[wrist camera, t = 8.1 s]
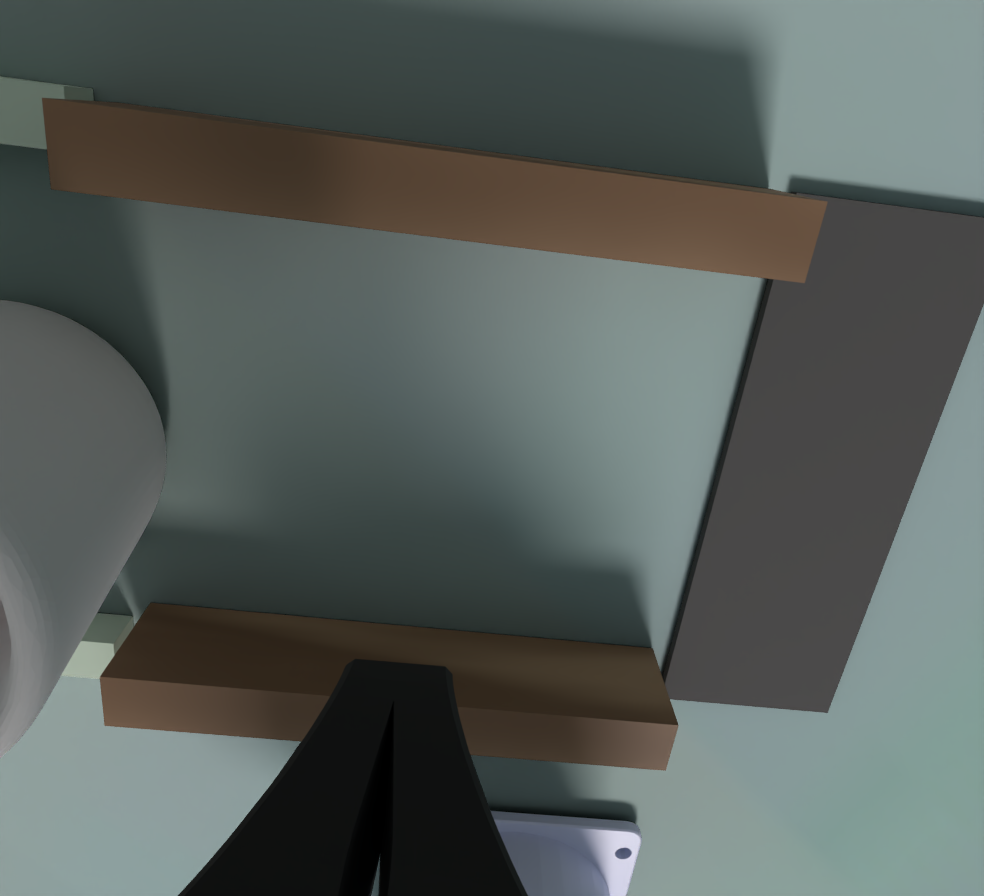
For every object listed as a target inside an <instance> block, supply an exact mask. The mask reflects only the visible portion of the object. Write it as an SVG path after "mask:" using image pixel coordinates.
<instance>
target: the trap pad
mask: <svg viewBox="0 0 984 896" xmlns="http://www.w3.org/2000/svg"><path fill="white" fill-rule="evenodd" d="M791 194H795V195H800V196H804V197H809V198H814V199H818V200H823V201H827V202H828V203H827V206H826V210H825V213H824V217H823V220H822V224H821V227H820V231H819V234H818V238H817V241H816V245H815V248H814V252H813V256H812V259H811V263H810V266H809V270H808V273H807V277H806V280H805V283H799V282H791V281H783V280H775V279H768V282H767V286H766V290H765V293H764V297H763V301H762V305H761V308H760V312H759V316H758V320H757V323H756V327H755V331H754V335H753V339H752V342H751V346H750V350H749V354H748V357H747V361H746V365H745V369H744V372H743V376H742V380H741V384H740V387H739V391H738V395H737V399H736V402H735V406H734V410H733V414H732V418H731V421H730V425H729V429H728V433H727V436H726V440H725V444H724V448H723V451H722V455H721V459H720V463H719V466H718V470H717V474H716V478H715V481H714V485H713V489H712V493H711V497H710V500H709V504H708V508H707V512H706V515H705V519H704V523H703V527H702V530H701V534H700V538H699V542H698V545H697V549H696V553H695V557H694V560H693V564H692V568H691V572H690V576H689V579H688V583H687V587H686V591H685V594H684V598H683V602H682V606H681V609H680V613H679V617H678V621H677V624H676V628H675V632H674V636H673V639H672V643H671V647H670V651H669V655H668V658H667V662H666V666H665V670H664V673H663V677H662V678H663V681H664V684H665V687H666V690H667V693H668V696H669V699H674V700H686V701H697V702H709V703H721V704H732V705H744V706H755V707H767V708H778V709H790V710H802V711H813V712H825V713H828V710H829V707H830V705H831V702H832V700H833V697H834V694H835V692H836V689H837V687H838V684H839V681H840V679H841V676H842V673H843V671H844V668H845V666H846V663H847V660H848V658H849V655H850V652H851V650H852V647H853V645H854V642H855V639H856V637H857V634H858V632H859V629H860V626H861V624H862V621H863V618H864V616H865V613H866V611H867V608H868V605H869V603H870V600H871V597H872V595H873V592H874V590H875V587H876V584H877V582H878V579H879V577H880V574H881V571H882V569H883V566H884V563H885V561H886V558H887V556H888V553H889V550H890V548H891V545H892V543H893V540H894V537H895V535H896V532H897V529H898V527H899V524H900V522H901V519H902V516H903V514H904V511H905V508H906V506H907V503H908V501H909V498H910V495H911V493H912V490H913V488H914V485H915V482H916V480H917V477H918V474H919V472H920V469H921V467H922V464H923V461H924V459H925V456H926V454H927V451H928V448H929V446H930V443H931V440H932V438H933V435H934V433H935V430H936V427H937V425H938V422H939V419H940V417H941V414H942V412H943V409H944V406H945V404H946V401H947V399H948V396H949V393H950V391H951V388H952V385H953V383H954V380H955V378H956V375H957V372H958V370H959V367H960V365H961V362H962V359H963V357H964V354H965V351H966V349H967V346H968V344H969V341H970V338H971V336H972V333H973V330H974V328H975V325H976V323H977V320H978V317H979V315H980V312H981V310H982V307H983V304H984V217H978V216H970V215H963V214H955V213H948V212H940V211H933V210H925V209H917V208H910V207H902V206H895V205H887V204H880V203H872V202H865V201H857V200H850V199H842V198H834V197H827V196H819V195H812V194H804V193H797V192H791Z"/></svg>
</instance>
